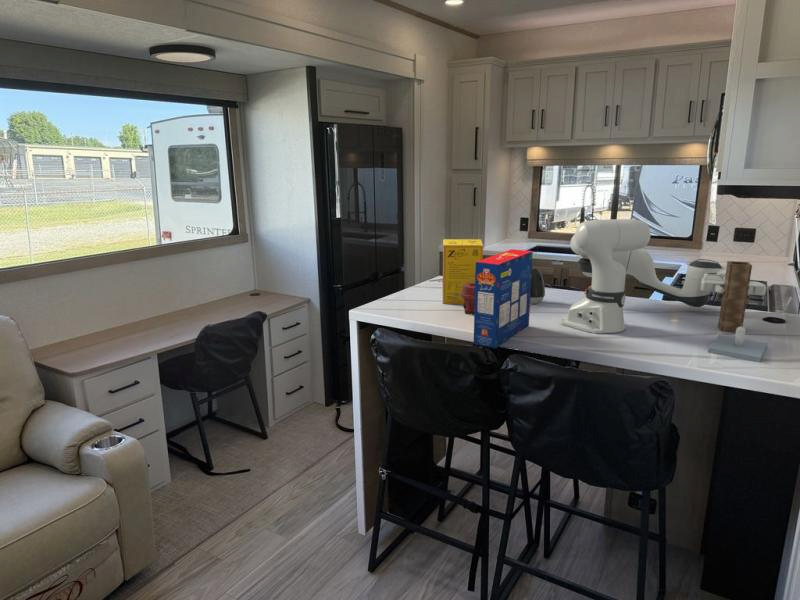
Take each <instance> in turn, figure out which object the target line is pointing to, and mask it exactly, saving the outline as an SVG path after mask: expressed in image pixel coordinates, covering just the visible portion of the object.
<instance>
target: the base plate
mask: <svg viewBox="0 0 800 600" xmlns="http://www.w3.org/2000/svg"><path fill="white" fill-rule="evenodd" d="M746 330H747V329H746V328H745V327H738V328H737V329H736V333H735V334H734V337H732V336H728V335H722V334H718V335H717V337H716V338H715V339H714V340H713V342H712V343H711V344H710V345H709V346H708V348H707V349H708V350H707V353H709V354H714V355H721V356H725V357H731V358H736V359H740V358H741V359H740V360H745V359H747V360H746V361H751V360H752V362H756V361H757V362H756V363H760V362H761V361H762V358H763V357H764V354H765V353H766V352H767V349H768V343H767V342H762V341H756V340H749V339H746V338H745V337H746Z"/></svg>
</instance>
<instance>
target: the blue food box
mask: <svg viewBox="0 0 800 600" xmlns="http://www.w3.org/2000/svg"><path fill="white" fill-rule="evenodd" d="M533 253H534V252H533V250H526V249H525V250H523V249H515V248H514V249H512V248H511V249H509V250H505V251H503V252H499V253H497V254H494V255H491V256H488V257H486V258H483V259H482V260H480V261H477V262H476V268H475V307H474V314H473V316H474V319H473V320H474V321H473V344H474V345H477V346H483V347H487V348H492V349H496V348H498V347H499V346H502V345H503V344H505V343H506V342H507V341H508V340H511V339H512V338H513V337H515V336H516V335H518V334H520V333H521V332H522V331H523V332H524V330H525V329H527V328H529V326H530V313H531V312H530V310H531V309H530V308H531V306H530V305H531V304H530V293H531V274H532V267H533Z"/></svg>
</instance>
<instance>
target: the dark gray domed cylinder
mask: <svg viewBox="0 0 800 600" xmlns="http://www.w3.org/2000/svg"><path fill="white" fill-rule="evenodd" d="M544 281H545V280H544V278H543V274H542V272H541V271H540V269H539V268H538V267H534V266H532V274H531V293H530V305H538V304H539V303H541V302H542V301H543V300H544V298H545V296H546V288H545V283H544Z"/></svg>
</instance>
